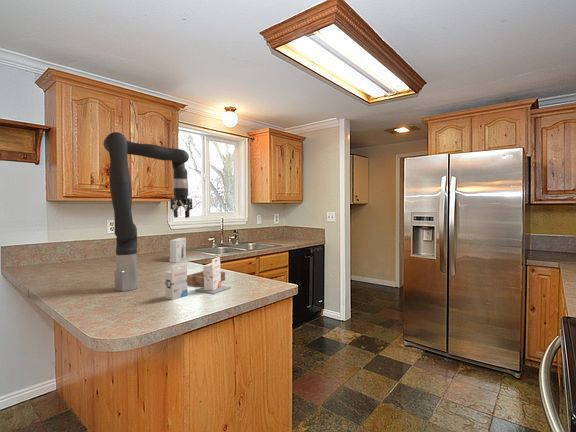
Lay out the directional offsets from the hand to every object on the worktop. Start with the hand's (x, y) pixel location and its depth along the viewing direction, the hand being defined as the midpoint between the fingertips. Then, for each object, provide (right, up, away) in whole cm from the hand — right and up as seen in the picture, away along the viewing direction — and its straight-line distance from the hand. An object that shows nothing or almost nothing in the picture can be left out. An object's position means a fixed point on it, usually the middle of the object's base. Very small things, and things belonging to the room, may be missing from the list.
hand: (181, 217), depth 176 cm
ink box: (+8, -35, -32) cm, 48 cm away
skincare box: (-25, -32, +68) cm, 79 cm away
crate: (+14, -34, -4) cm, 37 cm away
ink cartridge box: (+21, -34, -20) cm, 45 cm away
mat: (+22, -35, -20) cm, 45 cm away
